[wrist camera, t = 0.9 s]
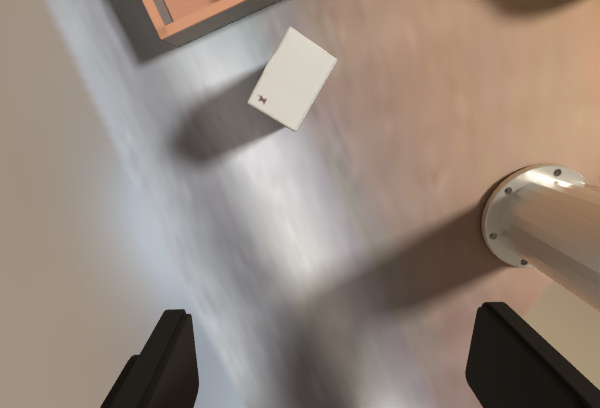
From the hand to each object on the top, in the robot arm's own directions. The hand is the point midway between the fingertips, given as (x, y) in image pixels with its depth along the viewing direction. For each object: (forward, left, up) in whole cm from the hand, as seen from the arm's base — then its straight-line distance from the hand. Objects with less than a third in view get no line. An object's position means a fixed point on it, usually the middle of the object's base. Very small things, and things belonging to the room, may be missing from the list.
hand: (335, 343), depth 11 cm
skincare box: (-2, -9, -28) cm, 30 cm away
